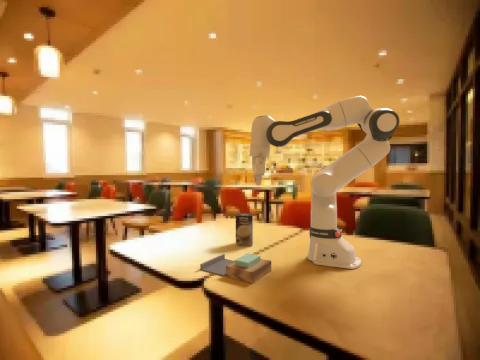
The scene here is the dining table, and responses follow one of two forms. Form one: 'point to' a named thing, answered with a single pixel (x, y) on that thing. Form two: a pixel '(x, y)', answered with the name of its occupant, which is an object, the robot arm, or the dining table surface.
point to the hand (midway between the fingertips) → (257, 183)
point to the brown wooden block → (249, 271)
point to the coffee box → (244, 229)
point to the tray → (216, 265)
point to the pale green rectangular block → (247, 260)
